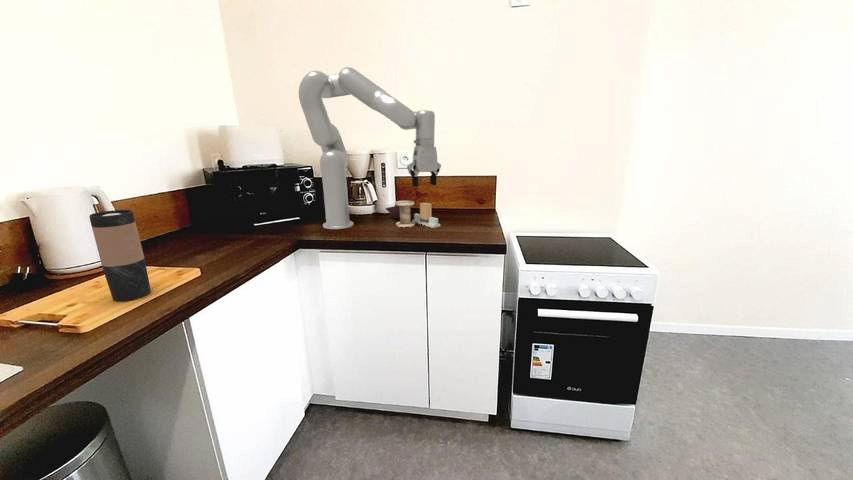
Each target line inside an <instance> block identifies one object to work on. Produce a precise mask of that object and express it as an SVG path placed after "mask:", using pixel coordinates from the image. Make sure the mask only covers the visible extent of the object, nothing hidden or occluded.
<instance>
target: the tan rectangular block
mask: <svg viewBox="0 0 853 480" xmlns="http://www.w3.org/2000/svg"><path fill="white" fill-rule="evenodd" d="M432 210H433V209H432V203H429V202H420V203H419V214H420V222H423V223H429V217H433V216H432V215H433V213H432Z"/></svg>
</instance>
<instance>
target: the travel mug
mask: <svg viewBox="0 0 853 480" xmlns="http://www.w3.org/2000/svg"><path fill="white" fill-rule="evenodd" d="M89 222H90V225H91V229H92V232H93V236H94V241H95V245H96V249H97V252H98V256H99V261H100V263H101V267H102V270H103V273H104V276H105V280H106V282H107V287H108V289H109V292H110V294H111V297H112V300H113V301H114V302H118V303H121V302H130V301H135V300H138V299H141V298H145V297H146V296H148V295H149V294H150V293H151V291H152V290H151V289H152V288H151V285H150V280H149V274H148V269H147V264H146V263H147V262H146V259H145V254H144V251H143V245H142V243H141V238H140V234H139V231H138V227H137V222H136V219H135V216H134V212H133V210H130V209H117V210H116V209H115V210H105V211H99V212H94V213H91V214H90V215H89Z"/></svg>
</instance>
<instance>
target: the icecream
mask: <svg viewBox="0 0 853 480" xmlns="http://www.w3.org/2000/svg"><path fill="white" fill-rule="evenodd" d="M385 210H386V211H387V212H388V213H389V214H390V216H391V217H392V219H394V220H395V219H397V220H400V206H396V205H395V204H394V206H390V207H385Z"/></svg>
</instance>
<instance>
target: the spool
mask: <svg viewBox="0 0 853 480" xmlns="http://www.w3.org/2000/svg"><path fill="white" fill-rule="evenodd" d="M395 205H396V206H400V219H399V221H397V222H396V223H395V227H397V228H400V227H403V229H406V228H405V227H409V228H413V227H415V226H416V223H415V222H412V221H411V207H413V206H415V201H414V200H397V201H394V206H395Z"/></svg>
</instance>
